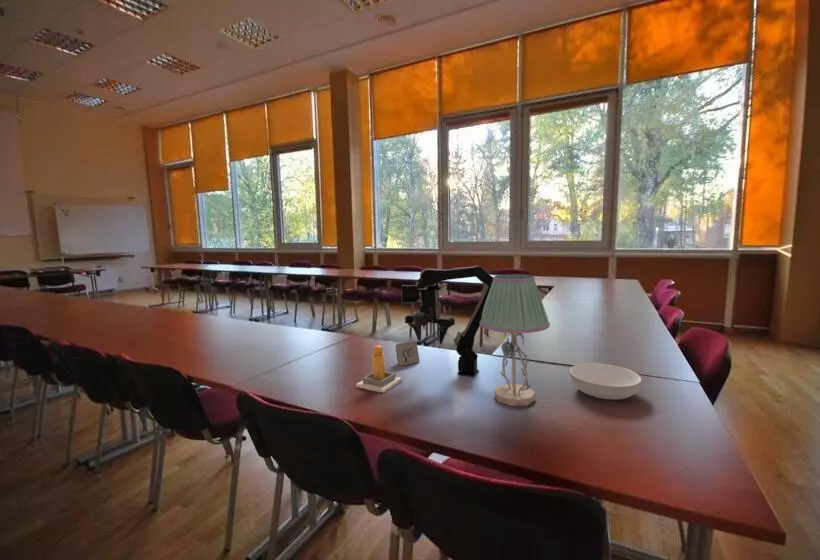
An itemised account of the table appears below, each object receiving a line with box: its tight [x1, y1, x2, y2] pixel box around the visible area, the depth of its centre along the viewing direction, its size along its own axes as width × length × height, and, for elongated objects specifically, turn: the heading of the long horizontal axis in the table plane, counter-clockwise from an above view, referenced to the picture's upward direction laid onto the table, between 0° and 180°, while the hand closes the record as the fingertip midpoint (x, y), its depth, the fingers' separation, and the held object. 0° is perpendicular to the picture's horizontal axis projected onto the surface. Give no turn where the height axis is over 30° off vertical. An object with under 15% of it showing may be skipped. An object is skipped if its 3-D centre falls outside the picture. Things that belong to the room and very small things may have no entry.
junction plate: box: [356, 371, 403, 394], centre depth 143 cm, size 12×12×3 cm
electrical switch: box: [395, 340, 420, 367], centre depth 165 cm, size 9×5×9 cm, turn 116°
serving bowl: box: [569, 362, 643, 400], centre depth 128 cm, size 21×21×7 cm
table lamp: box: [480, 273, 551, 407], centre depth 125 cm, size 22×22×40 cm
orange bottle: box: [371, 344, 386, 381], centre depth 142 cm, size 4×4×13 cm
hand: (430, 342), depth 148 cm, fingers open, 9 cm apart
